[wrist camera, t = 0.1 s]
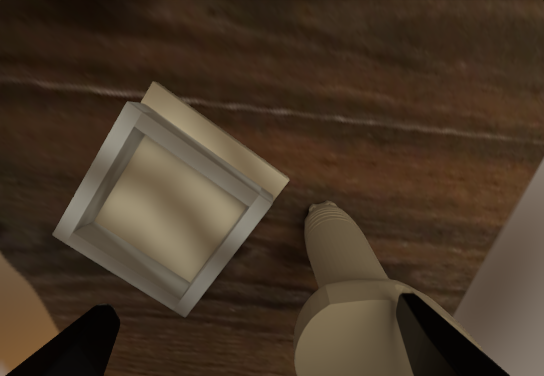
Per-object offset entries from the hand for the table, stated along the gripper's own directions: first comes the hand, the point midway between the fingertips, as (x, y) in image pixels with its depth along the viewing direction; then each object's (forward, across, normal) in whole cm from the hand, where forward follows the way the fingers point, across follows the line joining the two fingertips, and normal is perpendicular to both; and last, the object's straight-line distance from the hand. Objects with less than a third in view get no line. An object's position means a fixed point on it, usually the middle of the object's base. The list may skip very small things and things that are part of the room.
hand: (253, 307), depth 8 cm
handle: (+14, -4, +7) cm, 16 cm away
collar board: (+15, +9, +5) cm, 18 cm away
